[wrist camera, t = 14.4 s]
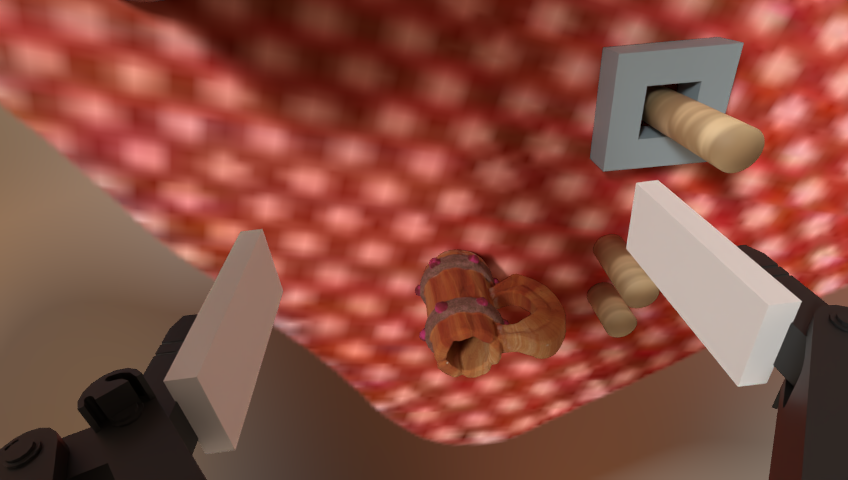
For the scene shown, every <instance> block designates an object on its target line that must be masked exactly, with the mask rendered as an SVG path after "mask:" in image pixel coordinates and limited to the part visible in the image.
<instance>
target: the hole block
mask: <svg viewBox="0 0 848 480" xmlns="http://www.w3.org/2000/svg"><path fill="white" fill-rule="evenodd" d="M743 44H744V43H743V42H738V41H734V40H730V39H725V38H721V37H713V38H702V39H691V40H680V41H669V42H657V43H646V44H635V45H624V46H613V47H603V51H602V59H601V68H600V76H599V85H598V94H597V102H596V111H595V119H594V128H593V136H592V145H591V154H590V159H591V160H592V161H593V162H594V163H595V164H596V165H597V166H598V167H599V168H600V169H601V170H602V171H603V172H604V171H614V170H625V169H636V168H646V167H657V166H668V165H678V164H689V163H700V162H707V161H705V160H704V159H702V158H701V157H699V156H698V155H696V154H694V153H693V152H691V151H690V150H688V149H686V148H685V147H683V146H682V145H680V144H679V143H677V142H675V141H674V140H672V139H671V138H669V137H668V136H666V135H664V134H663V133H661V132H660V131H658V130H657V129H655V128H653V127H652V126H641V120H642V114H643V108H644V102H645V96H646V90H647V86H655V85H666V84H677V83H678V88H677V92H678V93H681V94H683V95H685V96H687V97H689V98H692V99H694V100H696V101H698V102H700V103H702V104H705V105H707V106H709V107H711V108H713V109H716V110H718V111H720V112H722V113H724V114H725V112H726V109H727V105H728V101H729V97H730V93H731V89H732V86H733V82H734V78H735V74H736V70H737V67H738V63H739V59H740V55H741V51H742V47H743Z"/></svg>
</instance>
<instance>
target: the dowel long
mask: <svg viewBox="0 0 848 480" xmlns="http://www.w3.org/2000/svg"><path fill="white" fill-rule="evenodd" d="M642 121H644V122H646V123H647V124H649V125H650V126H652V127H653V128H655V129H657V130H658V131H660V132H661V133H663V134H664V135H666V136H668V137H669V138H671V139H672V140H674V141H675V142H677V143H679V144H680V145H682V146H683V147H685V148H686V149H688V150H690V151H691V152H693V153H694V154H696V155H698V156H699V157H701V158H702V159H704V160H705V161H707V162H709V163H710V164H712V165H713V166H715V167H716V168H718V169H720V170H721V171H723V172H726V173H736V172H740V171H742V170H744V169H746V168H748V167H749V166H751V165H752V164H753V163H754V162H755V161H756V160H757V159H758V158H759V156H760V154H761V153H762V150H763V148H764V136H763V134H762V132H761V131H760V130H759V129H757V128H755V127H753V126H750V125H748V124H746V123H744V122H742V121H740V120H737V119H735V118H733V117H731V116H729V115H726V114H724V113H722V112H720V111H718V110H716V109H713V108H711V107H709V106H707V105H705V104H702V103H700V102H698V101H696V100H694V99H692V98H689V97H687V96H685V95H683V94H681V93H678V92H676V91H674V90H672V89H670V88H668V87H665V86H663V85H655V86H647V90H646V96H645V102H644V108H643V114H642Z"/></svg>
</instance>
